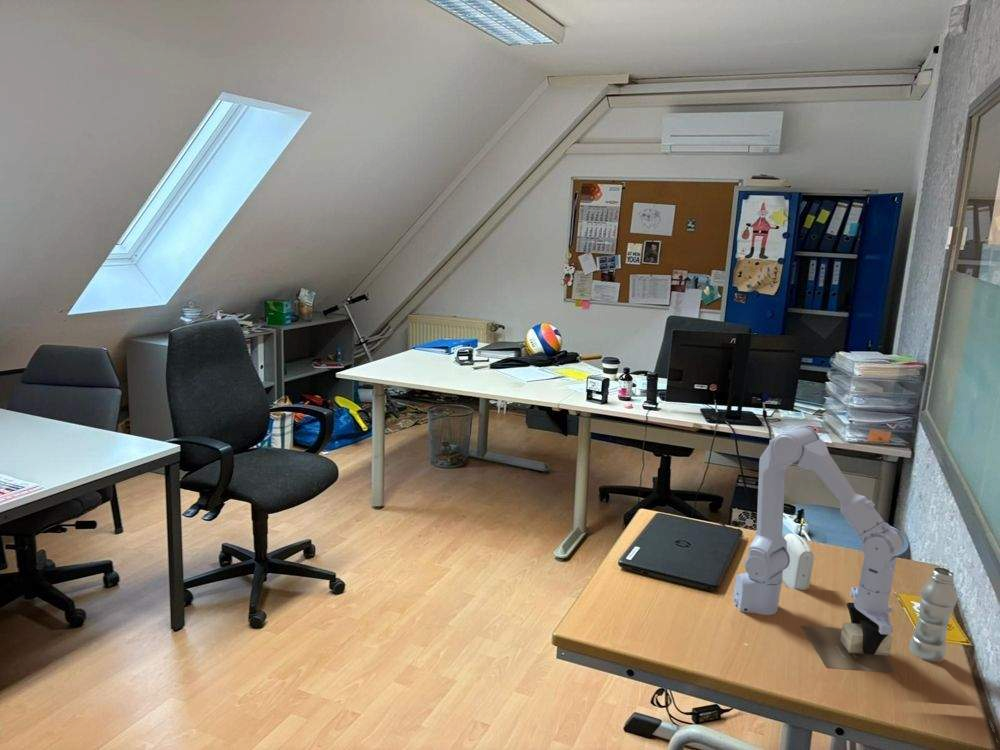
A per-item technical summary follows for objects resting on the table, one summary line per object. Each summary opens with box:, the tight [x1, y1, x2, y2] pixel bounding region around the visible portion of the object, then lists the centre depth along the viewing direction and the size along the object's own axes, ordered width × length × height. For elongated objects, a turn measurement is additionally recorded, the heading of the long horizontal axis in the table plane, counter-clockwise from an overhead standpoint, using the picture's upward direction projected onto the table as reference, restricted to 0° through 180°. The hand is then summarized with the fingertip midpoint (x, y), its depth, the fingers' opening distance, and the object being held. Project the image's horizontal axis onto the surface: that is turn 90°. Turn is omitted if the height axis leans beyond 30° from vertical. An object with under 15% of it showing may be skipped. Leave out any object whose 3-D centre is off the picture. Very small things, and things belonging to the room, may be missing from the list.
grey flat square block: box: [800, 625, 899, 674], centre depth 155 cm, size 14×15×2 cm
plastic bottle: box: [909, 566, 958, 663], centre depth 153 cm, size 6×7×20 cm
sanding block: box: [840, 622, 894, 656], centre depth 153 cm, size 8×4×4 cm, turn 88°
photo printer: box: [782, 533, 815, 591], centre depth 182 cm, size 10×4×12 cm, turn 3°
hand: (863, 645), depth 153 cm, fingers closed on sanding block, 4 cm apart
